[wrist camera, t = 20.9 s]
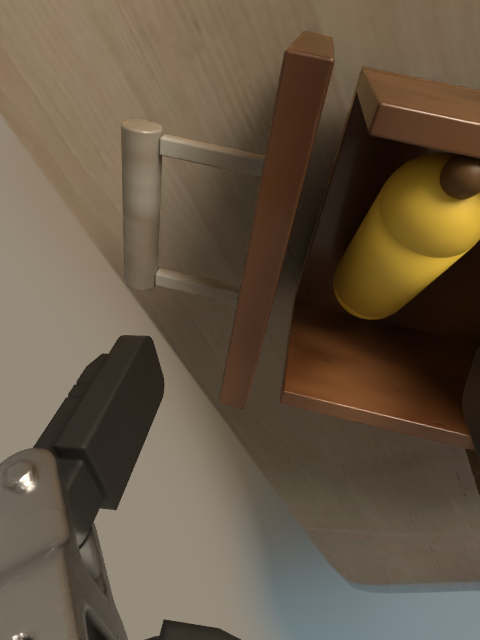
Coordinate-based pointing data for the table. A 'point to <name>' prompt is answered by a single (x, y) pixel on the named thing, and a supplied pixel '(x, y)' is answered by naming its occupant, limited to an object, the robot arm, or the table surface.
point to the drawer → (329, 249)
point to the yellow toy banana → (410, 234)
